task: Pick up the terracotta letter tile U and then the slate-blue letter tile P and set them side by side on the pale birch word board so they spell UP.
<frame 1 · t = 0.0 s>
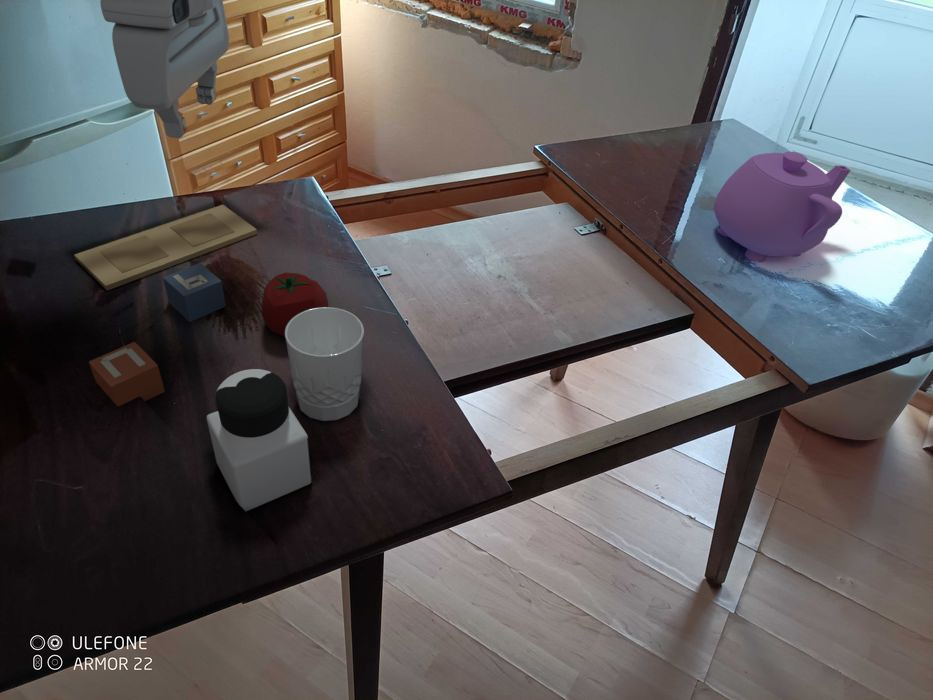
hand: (193, 117, 78), 21 cm above the table, tool pointing down, fingers open, 8 cm apart
teapot: (773, 246, 111), on the table
medicine bottle: (264, 474, 68), on the table
tomato: (296, 325, 85), on the table
word board: (170, 246, 95), on the table
tile P: (197, 304, 86), on the table
tile U: (131, 390, 74), on the table
white cup: (328, 400, 76), on the table
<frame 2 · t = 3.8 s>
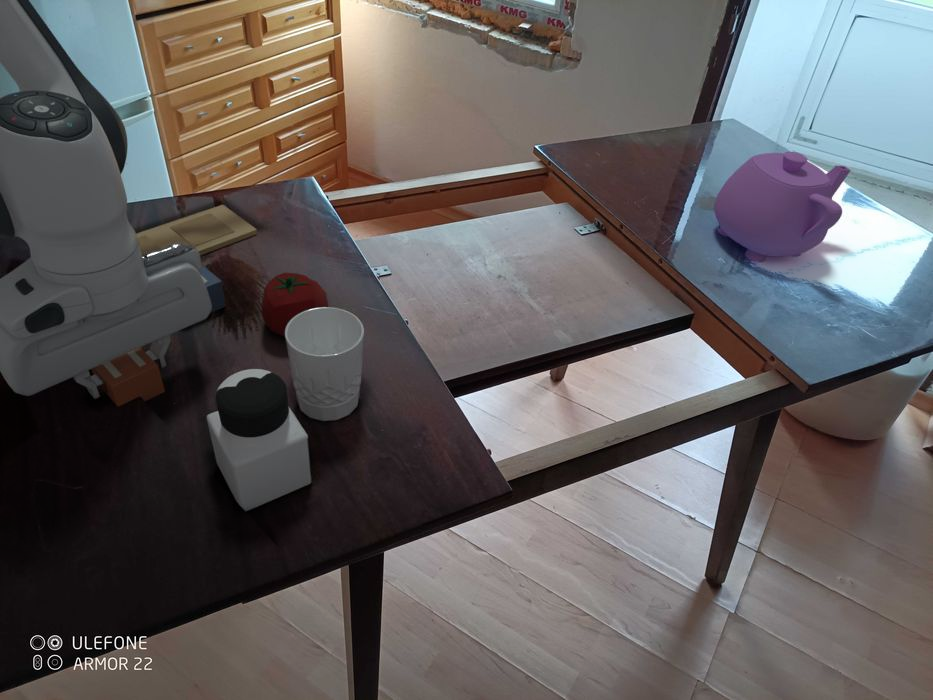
hand: (128, 379, 73), 2 cm above the table, tool pointing down, fingers closed on tile U, 5 cm apart
tile U: (132, 390, 75), on the table, touching gripper
everything else where it was.
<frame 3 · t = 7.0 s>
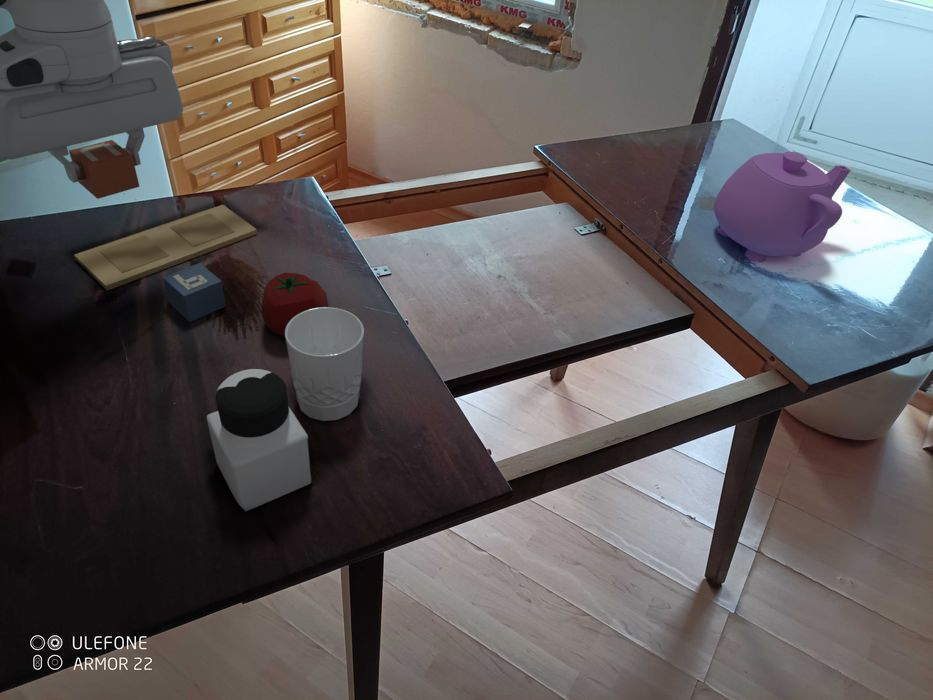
hand: (105, 171, 80), 15 cm above the table, tool pointing down, fingers closed on tile U, 5 cm apart
tile U: (109, 184, 81), point 13 cm above the table, touching gripper
everything else where it was.
when the fingers open (2 cm above the table, at t = 10.7 s): tile U stays where it is, resting on word board.
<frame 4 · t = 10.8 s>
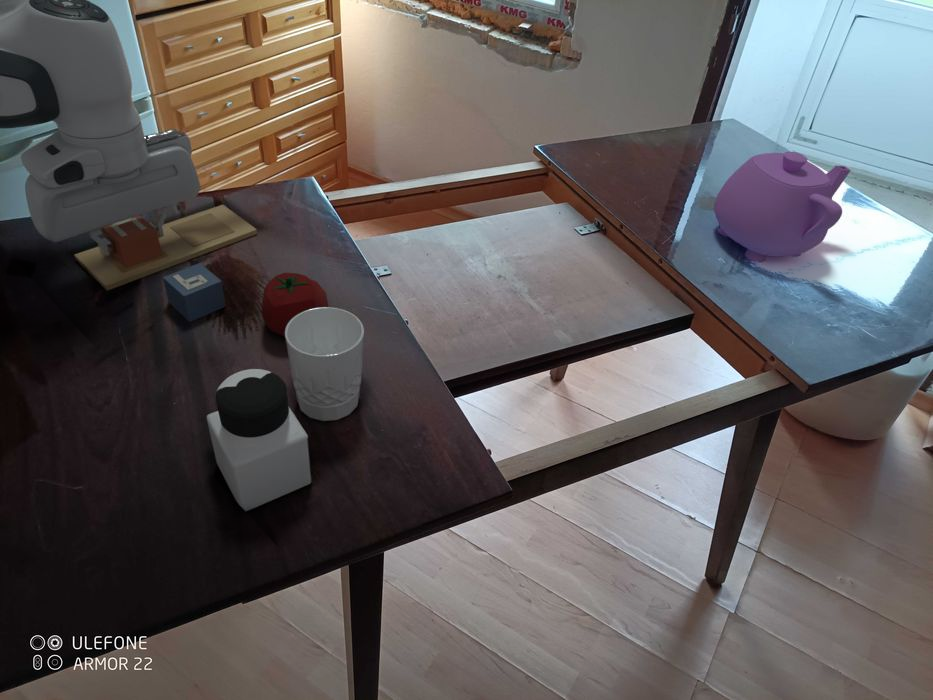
hand: (133, 244, 91), 2 cm above the table, tool pointing down, fingers open, 5 cm apart
tile U: (135, 253, 92), point 1 cm above the table, touching word board
everything else where it was.
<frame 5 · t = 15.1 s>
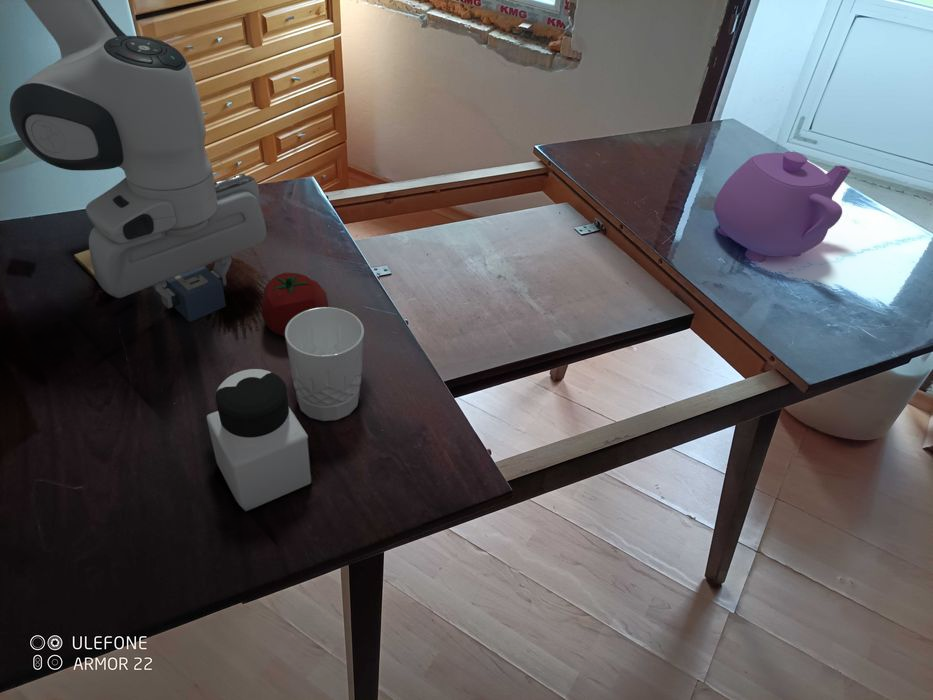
hand: (195, 294, 85), 2 cm above the table, tool pointing down, fingers closed on tile P, 5 cm apart
tile P: (197, 304, 86), on the table, touching gripper
everything else where it was.
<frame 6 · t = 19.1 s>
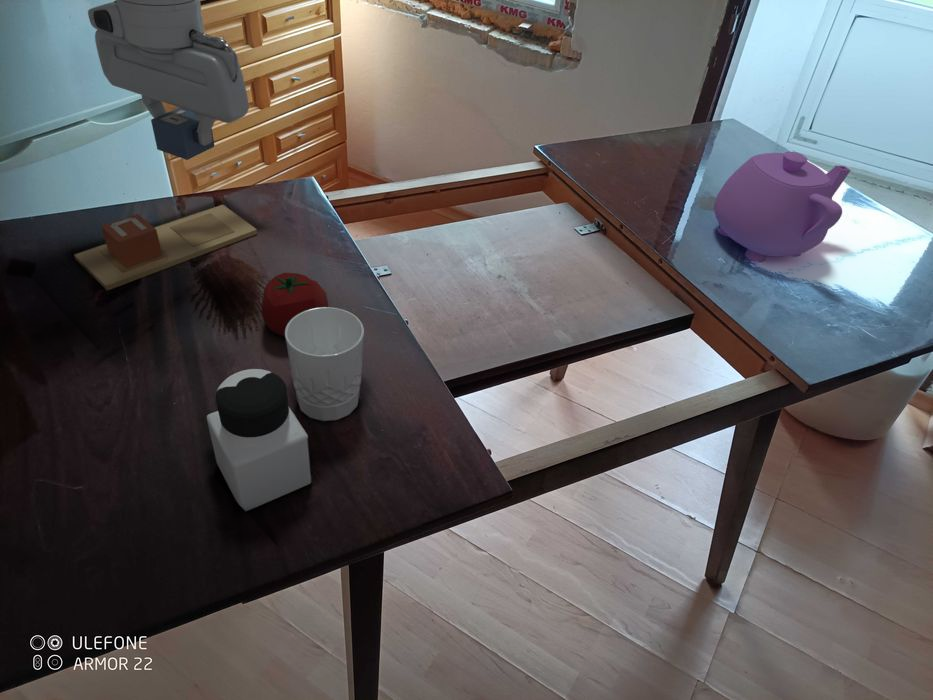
hand: (184, 136, 88), 15 cm above the table, tool pointing down, fingers closed on tile P, 5 cm apart
tile P: (186, 148, 89), point 13 cm above the table, touching gripper
everything else where it was.
when the fingers open (2 cm above the table, at t = 23.0 s): tile P stays where it is, resting on word board.
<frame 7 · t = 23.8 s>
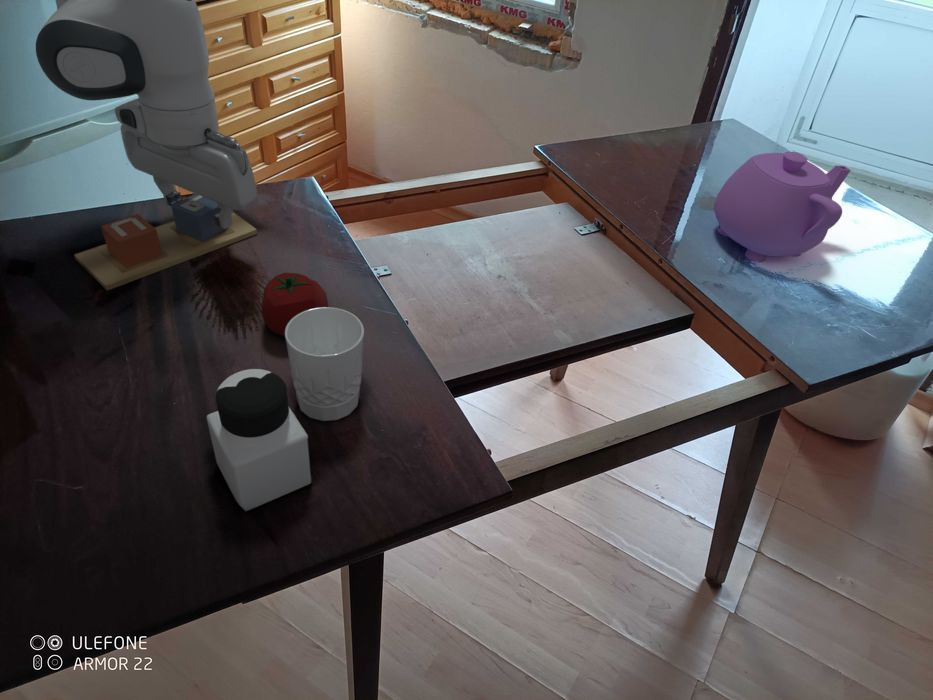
hand: (198, 215, 96), 3 cm above the table, tool pointing down, fingers open, 8 cm apart
tile P: (202, 229, 98), point 1 cm above the table, touching word board
everything else where it was.
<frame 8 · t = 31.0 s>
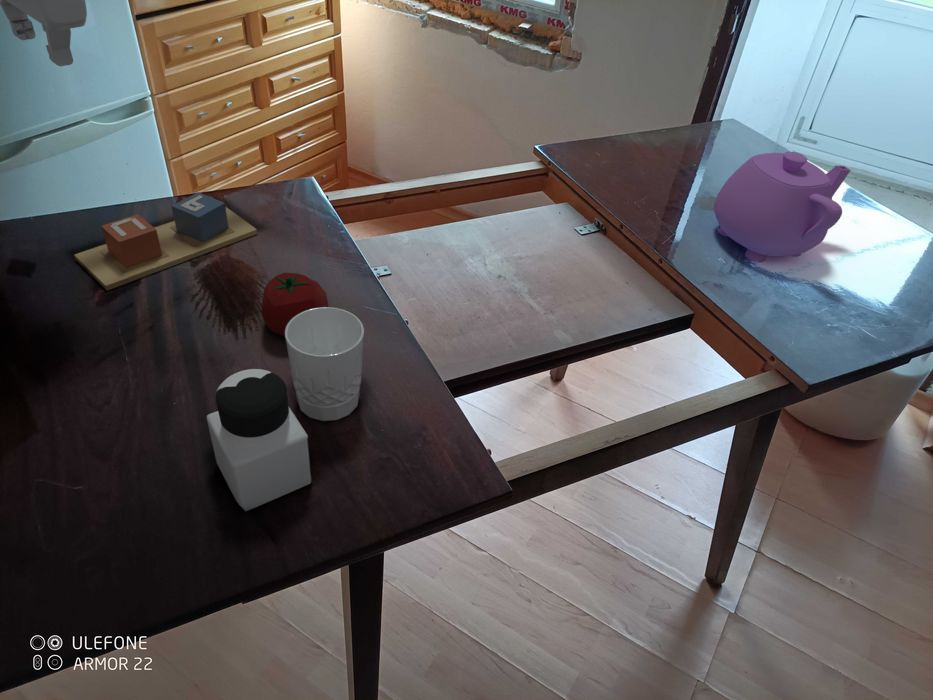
hand: (43, 50, 74), 27 cm above the table, tool pointing down, fingers open, 8 cm apart
nothing on the table moved.
at the end: tile U 0.1 cm from the target spot on the word board, point 0.9 cm above the word board's base; tile P 0.1 cm from the target spot on the word board, point 0.9 cm above the word board's base; tile P tilted 0° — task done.
